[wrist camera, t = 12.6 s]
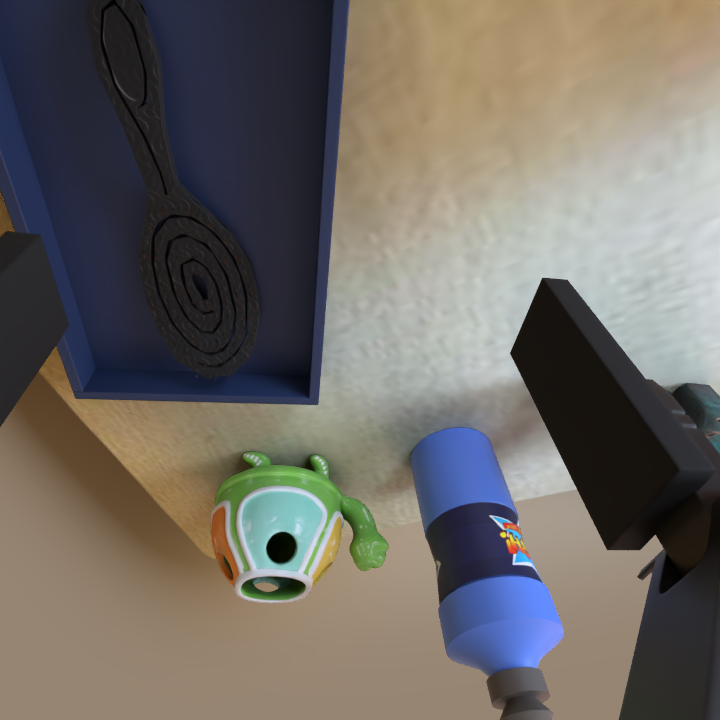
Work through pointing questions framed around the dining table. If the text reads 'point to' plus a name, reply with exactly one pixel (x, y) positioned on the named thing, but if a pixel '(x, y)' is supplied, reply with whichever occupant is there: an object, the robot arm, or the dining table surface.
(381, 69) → the dining table surface
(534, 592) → the water bottle
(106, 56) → the hairbrush
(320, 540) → the turtle holder
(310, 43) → the tray
